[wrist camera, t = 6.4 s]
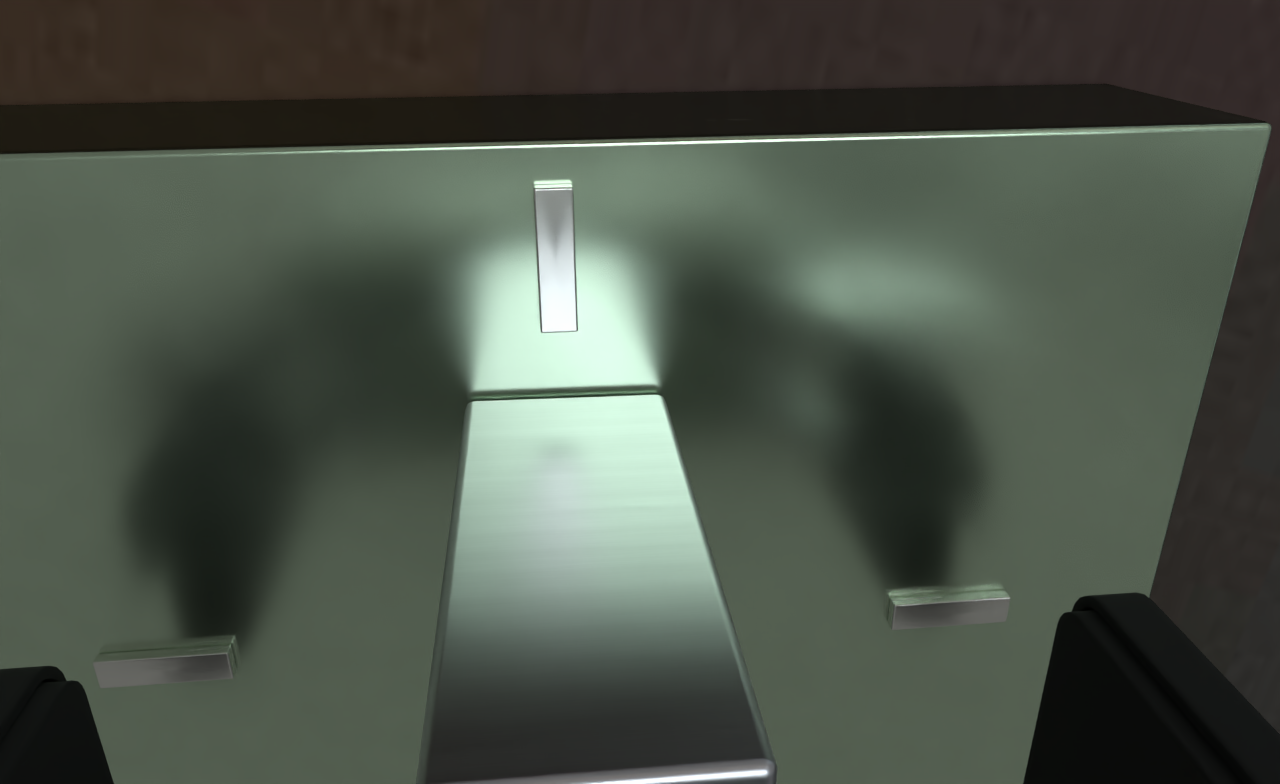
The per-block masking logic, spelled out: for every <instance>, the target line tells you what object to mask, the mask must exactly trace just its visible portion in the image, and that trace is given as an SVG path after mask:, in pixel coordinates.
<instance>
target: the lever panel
mask: <svg viewBox="0 0 1280 784" xmlns="http://www.w3.org/2000/svg"><path fill="white" fill-rule="evenodd" d="M1271 130H1272V129H1271V125H1270V124H1269V123H1267V122H1265V121H1262V120H1257V119H1253V118H1249V117H1245V116H1241V115H1236V114H1232V113H1228V112H1224V111H1219V110H1215V109H1211V108H1207V107H1202V106H1198V105H1194V104H1190V103H1186V102H1181V101H1177V100H1173V99H1169V98H1164V97H1160V96H1156V95H1152V94H1147V93H1143V92H1139V91H1135V90H1131V89H1126V88H1122V87H1118V86H1114V85H1109V84H1074V85H1023V86H971V87H920V88H869V89H817V90H766V91H715V92H664V93H612V94H561V95H510V96H459V97H407V98H356V99H305V100H253V101H202V102H151V103H100V104H48V105H0V669H8V668H22V667H37V666H54V667H57V668H58V669H59V670H61V671H62V672H63V674H64V676H65V678H66V680H67V681H71V680H74V681H78V682H79V683H80V684H82V685H83V688H84V690H85V692H86V695H87V698H88V701H89V705H90V708H91V711H92V714H93V718H94V721H95V724H96V727H97V730H98V734H99V737H100V740H101V743H102V747H103V750H104V753H105V756H106V759H107V763H108V766H109V769H110V772H111V776H112V779H113V782H114V784H416V778H417V770H418V763H419V755H420V747H421V740H422V732H423V725H424V717H425V710H426V702H427V694H428V687H429V679H430V672H431V664H432V657H433V649H434V642H435V634H436V626H437V619H438V611H439V604H440V596H441V589H442V581H443V574H444V566H445V558H446V551H447V543H448V536H449V528H450V521H451V513H452V506H453V498H454V490H455V483H456V475H457V468H458V460H459V453H460V445H461V437H462V430H463V422H464V415H465V409H466V407H467V404H468V403H470V402H473V401H493V400H521V399H548V398H576V397H603V396H631V395H660V396H663V397H664V399H665V402H666V404H667V408H668V411H669V414H670V417H671V421H672V424H673V427H674V431H675V434H676V437H677V440H678V444H679V447H680V450H681V453H682V457H683V460H684V463H685V466H686V470H687V473H688V476H689V480H690V483H691V486H692V489H693V493H694V496H695V499H696V502H697V506H698V509H699V512H700V515H701V519H702V522H703V525H704V529H705V532H706V535H707V538H708V542H709V545H710V548H711V551H712V555H713V558H714V561H715V564H716V568H717V571H718V574H719V578H720V581H721V584H722V587H723V591H724V594H725V597H726V600H727V604H728V607H729V610H730V613H731V617H732V620H733V623H734V627H735V630H736V633H737V636H738V640H739V643H740V646H741V649H742V653H743V656H744V659H745V663H746V666H747V669H748V672H749V676H750V679H751V682H752V685H753V689H754V692H755V695H756V698H757V702H758V705H759V708H760V712H761V715H762V718H763V721H764V725H765V728H766V731H767V734H768V738H769V741H770V744H771V747H772V751H773V754H774V757H775V761H776V764H777V767H778V770H777V781H776V784H1023V782H1024V777H1025V772H1026V768H1027V763H1028V758H1029V754H1030V749H1031V744H1032V740H1033V735H1034V730H1035V726H1036V721H1037V716H1038V712H1039V707H1040V702H1041V698H1042V693H1043V688H1044V684H1045V679H1046V675H1047V670H1048V665H1049V661H1050V656H1051V651H1052V647H1053V642H1054V637H1055V633H1056V628H1057V624H1058V621H1059V618H1060V617H1061V615H1062V614H1063V613H1066V612H1072V609H1073V606H1074V604H1075V603H1076V601H1077V600H1078V599H1079V598H1080V597H1084V596H1089V595H1104V594H1119V593H1134V592H1137V593H1141V594H1145V595H1146V596H1147V597H1148V598H1150V595H1151V591H1152V587H1153V583H1154V579H1155V575H1156V572H1157V568H1158V564H1159V560H1160V556H1161V552H1162V549H1163V545H1164V541H1165V537H1166V533H1167V529H1168V525H1169V522H1170V518H1171V514H1172V510H1173V506H1174V502H1175V499H1176V495H1177V491H1178V487H1179V483H1180V479H1181V476H1182V472H1183V468H1184V464H1185V460H1186V456H1187V453H1188V449H1189V445H1190V441H1191V437H1192V433H1193V430H1194V426H1195V422H1196V418H1197V414H1198V410H1199V407H1200V403H1201V399H1202V395H1203V391H1204V387H1205V383H1206V380H1207V376H1208V372H1209V368H1210V364H1211V360H1212V357H1213V353H1214V349H1215V345H1216V341H1217V337H1218V334H1219V330H1220V326H1221V322H1222V318H1223V314H1224V311H1225V307H1226V303H1227V299H1228V295H1229V291H1230V288H1231V284H1232V280H1233V276H1234V272H1235V268H1236V265H1237V261H1238V257H1239V253H1240V249H1241V245H1242V242H1243V238H1244V234H1245V230H1246V226H1247V222H1248V218H1249V215H1250V211H1251V207H1252V203H1253V199H1254V195H1255V192H1256V188H1257V184H1258V180H1259V176H1260V172H1261V169H1262V165H1263V161H1264V157H1265V153H1266V149H1267V146H1268V142H1269V138H1270V134H1271Z"/></svg>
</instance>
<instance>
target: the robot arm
mask: <svg viewBox="0 0 1280 784" xmlns="http://www.w3.org/2000/svg"><path fill="white" fill-rule="evenodd" d="M0 784H114V782H113V779H112V776H111V772H110V769H109V766H108V763H107V759H106V756H105V753H104V750H103V747H102V743H101V740H100V737H99V734H98V730H97V727H96V724H95V721H94V718H93V714H92V711H91V708H90V705H89V701H88V698H87V695H86V692H85V690H84V688H83V685H82V684H80V683H79V682H78V681H74V680H71V681H67V680H66V678H65V676H64V674H63V672H62V671H61V670H59V669H58V668H57V667H54V666H37V667H22V668H8V669H0ZM1023 784H1280V734H1279V733H1278V732H1277V731H1276V730H1275V729H1274V728H1273V727H1272V726H1271V725H1270V724H1269V723H1268V722H1267V721H1266V720H1265V719H1264V718H1263V717H1262V715H1261V714H1260V713H1259V712H1258V711H1257V710H1256V709H1255V708H1254V707H1253V706H1252V705H1251V704H1250V703H1249V702H1248V701H1247V700H1246V699H1245V698H1244V697H1243V695H1242V694H1241V693H1240V692H1239V691H1238V690H1237V689H1236V688H1235V687H1234V686H1233V685H1232V684H1231V683H1230V682H1229V681H1228V680H1227V679H1226V678H1225V676H1224V675H1223V674H1222V673H1221V672H1220V671H1219V670H1218V669H1217V668H1216V667H1215V666H1214V665H1213V664H1212V663H1211V662H1210V661H1209V660H1208V659H1207V658H1206V656H1205V655H1204V654H1203V653H1202V652H1201V651H1200V650H1199V649H1198V648H1197V647H1196V646H1195V645H1194V644H1193V643H1192V642H1191V641H1190V640H1189V639H1188V637H1187V636H1186V635H1185V634H1184V633H1183V632H1182V631H1181V630H1180V629H1179V628H1178V627H1177V626H1176V625H1175V624H1174V623H1173V622H1172V621H1171V620H1170V619H1169V617H1168V616H1167V615H1166V614H1165V613H1164V612H1163V611H1162V610H1161V609H1160V608H1159V607H1158V606H1157V605H1156V604H1155V603H1154V602H1153V601H1152V600H1151V599H1150V598H1148V597H1147V596H1146V595H1145V594H1141V593H1137V592H1134V593H1119V594H1104V595H1089V596H1084V597H1080V598H1079V599H1078V600H1077V601H1076V603H1075V604H1074V606H1073V609H1072V612H1066V613H1063V614H1062V615H1061V617H1060V618H1059V621H1058V624H1057V628H1056V633H1055V637H1054V642H1053V647H1052V651H1051V656H1050V661H1049V665H1048V670H1047V675H1046V679H1045V684H1044V688H1043V693H1042V698H1041V702H1040V707H1039V712H1038V716H1037V721H1036V726H1035V730H1034V735H1033V740H1032V744H1031V749H1030V754H1029V758H1028V763H1027V768H1026V772H1025V777H1024V782H1023Z"/></svg>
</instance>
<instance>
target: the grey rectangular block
mask: <svg viewBox="0 0 1280 784" xmlns="http://www.w3.org/2000/svg"><path fill="white" fill-rule="evenodd" d="M777 770H778V767H777V764H776V761H775V757H774V754H773V751H772V747H771V744H770V741H769V738H768V734H767V731H766V728H765V725H764V721H763V718H762V715H761V712H760V708H759V705H758V702H757V698H756V695H755V692H754V689H753V685H752V682H751V679H750V676H749V672H748V669H747V666H746V663H745V659H744V656H743V653H742V649H741V646H740V643H739V640H738V636H737V633H736V630H735V627H734V623H733V620H732V617H731V613H730V610H729V607H728V604H727V600H726V597H725V594H724V591H723V587H722V584H721V581H720V578H719V574H718V571H717V568H716V564H715V561H714V558H713V555H712V551H711V548H710V545H709V542H708V538H707V535H706V532H705V529H704V525H703V522H702V519H701V515H700V512H699V509H698V506H697V502H696V499H695V496H694V493H693V489H692V486H691V483H690V480H689V476H688V473H687V470H686V466H685V463H684V460H683V457H682V453H681V450H680V447H679V444H678V440H677V437H676V434H675V431H674V427H673V424H672V421H671V417H670V414H669V411H668V408H667V404H666V402H665V399H664V397H663V396H660V395H631V396H603V397H576V398H548V399H521V400H493V401H473V402H470V403H468V404H467V407H466V409H465V415H464V422H463V430H462V437H461V445H460V453H459V460H458V468H457V475H456V483H455V490H454V498H453V506H452V513H451V521H450V528H449V536H448V543H447V551H446V558H445V566H444V574H443V581H442V589H441V596H440V604H439V611H438V619H437V626H436V634H435V642H434V649H433V657H432V664H431V672H430V679H429V687H428V694H427V702H426V710H425V717H424V725H423V732H422V740H421V747H420V755H419V763H418V770H417V778H416V784H776V781H777Z"/></svg>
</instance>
